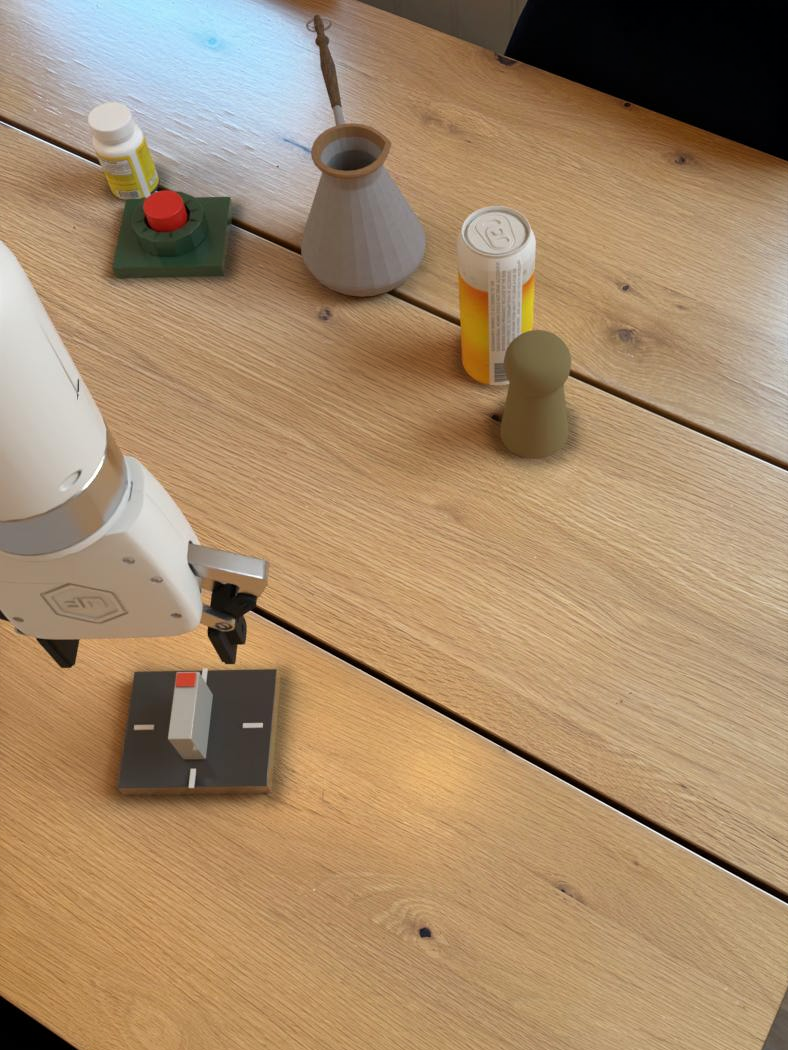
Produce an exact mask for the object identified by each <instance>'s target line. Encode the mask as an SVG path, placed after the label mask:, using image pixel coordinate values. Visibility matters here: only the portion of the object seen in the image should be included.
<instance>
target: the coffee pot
mask: <svg viewBox="0 0 788 1050" xmlns="http://www.w3.org/2000/svg"><path fill="white" fill-rule="evenodd" d="M323 20H325V21H329V25H327V26H326V27H325V25H324V22H323ZM312 22H313V28H314V29H312V28H309V25H310V24H311V23H312ZM332 24H333V22H332V19H330V18H329V17H325V16H321V15H320V14H315V15H313V18H310V20H308V21H307V22H306V24H305V28H306V29H307V31H308V32H311V33H316V38H315V41H314V42H315V45H316V46H317V47H318V49H319V50H318V51H319V63H320V71H321V73H322V78H323V82H324V84H325V85H324V86H325V89H326V92H327V96H328V100H329V103H330V107H331V110H332V112H333V118H334V122H335V125H334V126H332V127H329V128H328V129H325V130H324V131H323V132H321V133H320V134H319V135H318V136H317V137H316V138H315V140H314V141H313V144H312V146H311V150H310V152H311V160H312V162H313V164H314V166H315V167H316V168H317V169H318V170H319V171H320V172H321V174H320V178H319V181H318V184H317V188H316V190H315V194H314V197H313V201H312V204H311V207H310V209H309V214H308V216H307V217H308V218H307V221H306V223H305V227H304V230H303V233H302V236H301V239H300V250H301V251H300V252H301V257H302V260H303V263H304V264H305V267H306V269H307V270H308V271H309V272H310V273H311V274H312V276H313V277H314V278H315V279H316V280H317V281H318V282H319V283H320V284H321V285H323V286H325V287H326V288H328V289H329V290H330V291H333V292H337V293H339V294H342V295H346V296H350V297H351V296H352V297H359V298H364V297H375V296H378V295H381V294H385V293H389V292H391V291H392V290H394V289H397V288H398V287H401V286H402V285H403V284H404V283H405V282H407V281H408V280H410V278H411V277H413V276H414V274H415V273H416V271H417V270H418V268H419V267H420V265H421V263H422V261H423V258H424V256H425V252H426V248H427V238H426V237H427V236H426V231H425V228H424V227H423V224H422V223H421V220H420V218H419V217H418V216H417V213H416V212H415V210H413V208H412V207H411V204H410V203H409V202H408V201H407V199H406V197H405V196H404V195H403V192H402V191H401V190H400V188H399V187H398V185H397V184H396V183H395V181H394V179H393V178H392V176H391V175H390V173H389V171H388V169H386V167H385V166H384V165H385V161H386V160H387V158H388V156H389V154H390V152H391V148H392V145H393V144H392V141H391V140H390V139H389V138H388V137H387V136H386V135H384V134H383V133H382V132H381V131H380V130H378V129H376V128H374V127H372V126H371V125H368V124H367V125H366V124H363V123H354V122H353V123H352V122H351V123H346V122H345V117H344V113H343V110H342V109H343V108H342V98H341V93H340V87H339V81H338V74H337V70H336V64H335V62H334V61H335V60H334V59H333V56H332V53H331V50H330V48H329V44H330V38H329V36H327V35H326V33H325V31H328V30H329V29H331V27H332Z"/></svg>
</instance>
